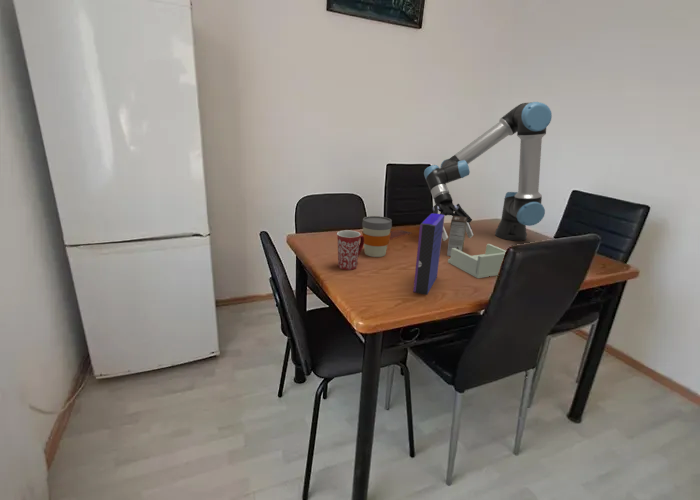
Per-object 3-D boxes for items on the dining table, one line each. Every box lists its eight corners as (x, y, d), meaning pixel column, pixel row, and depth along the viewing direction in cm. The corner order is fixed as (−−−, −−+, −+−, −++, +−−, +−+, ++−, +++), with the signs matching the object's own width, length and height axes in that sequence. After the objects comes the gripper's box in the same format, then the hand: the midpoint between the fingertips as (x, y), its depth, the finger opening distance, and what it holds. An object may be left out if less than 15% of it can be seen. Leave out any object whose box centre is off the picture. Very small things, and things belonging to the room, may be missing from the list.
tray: (485, 257, 172) (488, 238, 169) (517, 272, 157) (521, 251, 154) (447, 262, 164) (450, 242, 161) (477, 278, 149) (481, 257, 146)
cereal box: (424, 274, 150) (431, 212, 142) (437, 277, 148) (444, 214, 141) (413, 292, 135) (420, 223, 127) (427, 294, 133) (435, 225, 125)
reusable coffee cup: (395, 254, 171) (398, 220, 166) (377, 260, 162) (379, 225, 158) (373, 246, 179) (375, 214, 174) (354, 252, 170) (356, 219, 166)
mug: (346, 272, 149) (348, 238, 144) (331, 265, 155) (332, 232, 150) (370, 265, 157) (372, 232, 152) (354, 259, 163) (356, 227, 159)
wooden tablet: (378, 244, 186) (378, 240, 185) (363, 238, 193) (363, 235, 192) (415, 234, 203) (415, 231, 202) (400, 230, 210) (400, 227, 209)
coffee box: (448, 249, 180) (452, 215, 175) (462, 251, 178) (467, 216, 173) (446, 255, 172) (451, 219, 167) (461, 257, 170) (466, 221, 165)
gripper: (459, 200, 187) (476, 239, 179) (414, 202, 177) (430, 244, 169) (468, 191, 181) (486, 231, 173) (422, 193, 171) (439, 236, 163)
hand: (458, 238), depth 171 cm, fingers open, 13 cm apart
